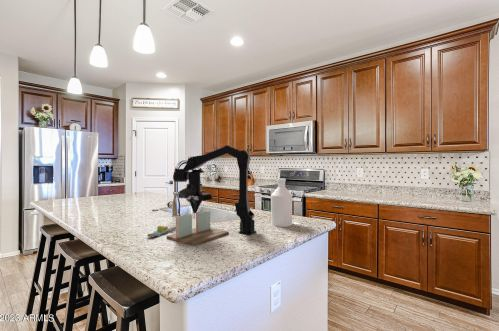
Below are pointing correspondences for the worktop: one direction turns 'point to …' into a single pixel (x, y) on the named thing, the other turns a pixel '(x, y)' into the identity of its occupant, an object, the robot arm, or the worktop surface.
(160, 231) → the flamethrower
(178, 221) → the tile
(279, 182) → the bottle
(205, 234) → the board
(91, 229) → the worktop surface
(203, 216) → the tile
